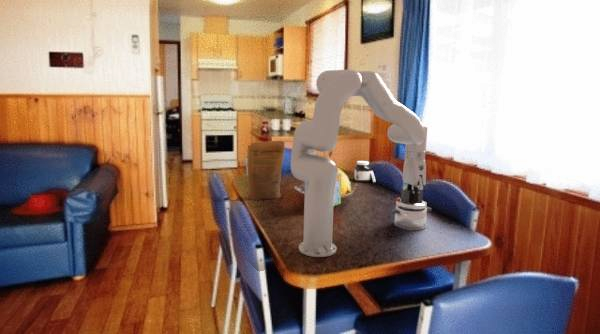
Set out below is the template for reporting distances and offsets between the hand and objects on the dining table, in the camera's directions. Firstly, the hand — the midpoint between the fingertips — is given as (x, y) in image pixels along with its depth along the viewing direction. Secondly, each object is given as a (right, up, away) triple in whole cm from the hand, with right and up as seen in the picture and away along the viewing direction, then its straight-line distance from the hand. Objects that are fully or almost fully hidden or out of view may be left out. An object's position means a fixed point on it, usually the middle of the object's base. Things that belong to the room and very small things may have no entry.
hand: (411, 201), depth 160 cm
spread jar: (-6, +5, +78) cm, 78 cm away
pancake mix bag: (-61, -2, +37) cm, 71 cm away
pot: (0, -10, +2) cm, 10 cm away
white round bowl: (0, -2, 0) cm, 2 cm away
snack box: (-34, -5, +24) cm, 41 cm away
